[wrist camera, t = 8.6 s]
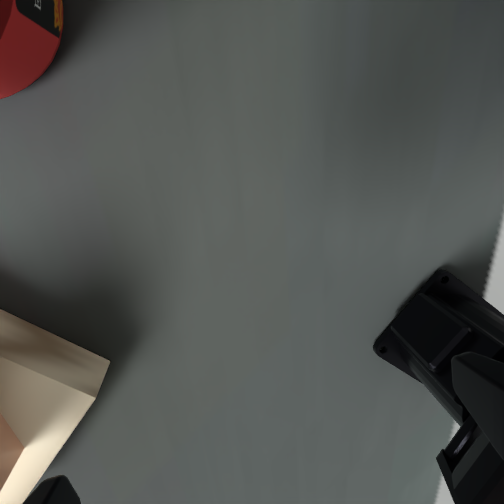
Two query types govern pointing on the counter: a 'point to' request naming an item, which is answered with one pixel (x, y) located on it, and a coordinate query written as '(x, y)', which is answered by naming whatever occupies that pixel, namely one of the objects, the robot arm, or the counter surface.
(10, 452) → the block
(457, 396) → the robot arm
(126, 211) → the counter surface
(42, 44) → the canned food
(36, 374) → the base
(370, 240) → the counter surface
